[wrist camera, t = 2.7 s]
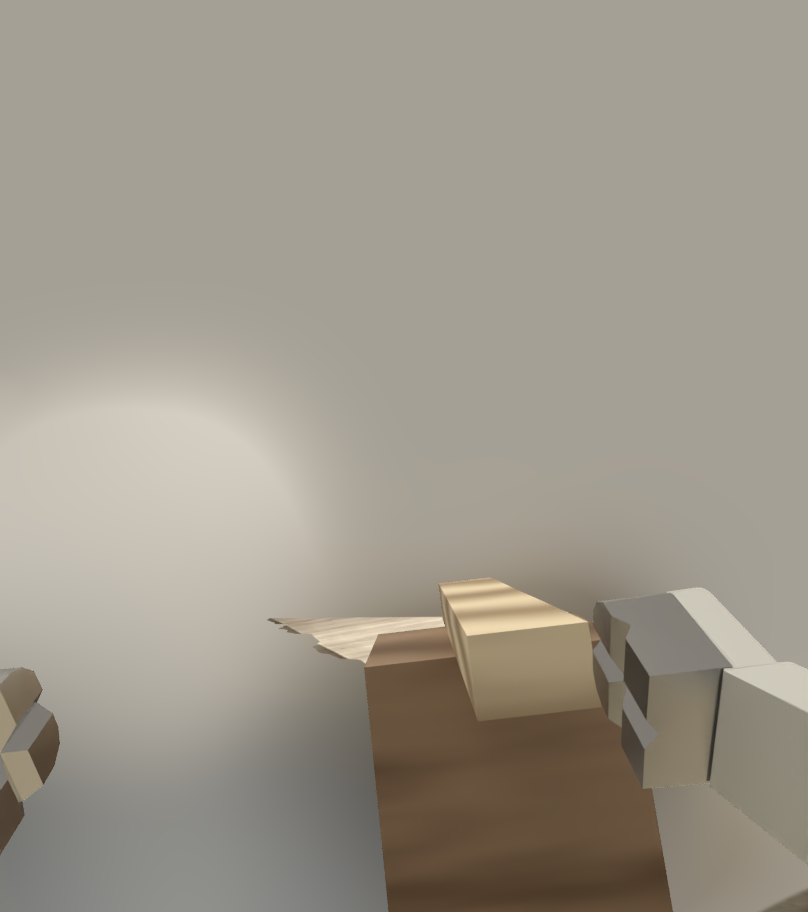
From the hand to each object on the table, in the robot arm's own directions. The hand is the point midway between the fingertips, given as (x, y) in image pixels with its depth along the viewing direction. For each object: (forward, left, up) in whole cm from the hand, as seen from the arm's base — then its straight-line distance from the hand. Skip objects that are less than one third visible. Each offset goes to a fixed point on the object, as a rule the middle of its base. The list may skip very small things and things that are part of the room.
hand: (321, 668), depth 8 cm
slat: (+11, -11, -3) cm, 16 cm away
